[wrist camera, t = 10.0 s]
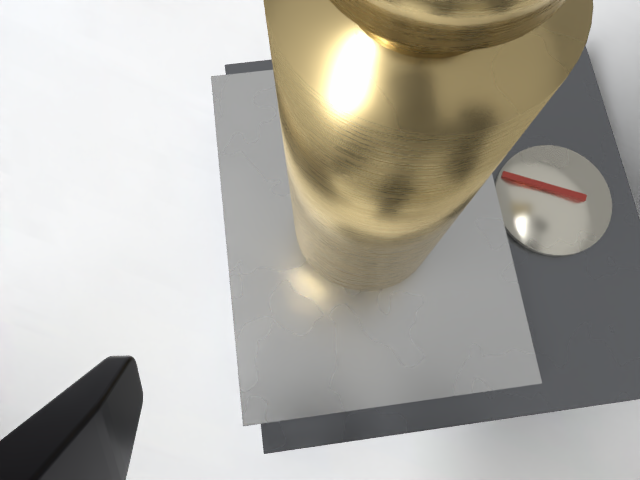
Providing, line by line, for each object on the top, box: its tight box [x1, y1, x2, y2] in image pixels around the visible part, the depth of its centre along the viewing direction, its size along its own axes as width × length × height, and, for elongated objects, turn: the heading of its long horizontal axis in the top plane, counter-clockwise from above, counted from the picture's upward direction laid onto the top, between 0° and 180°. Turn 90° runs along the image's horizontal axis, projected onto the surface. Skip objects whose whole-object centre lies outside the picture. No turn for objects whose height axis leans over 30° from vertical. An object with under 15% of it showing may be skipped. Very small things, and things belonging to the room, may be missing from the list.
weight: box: [264, 0, 593, 291], centre depth 13 cm, size 5×5×14 cm
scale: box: [211, 46, 640, 454], centre depth 21 cm, size 15×16×3 cm
